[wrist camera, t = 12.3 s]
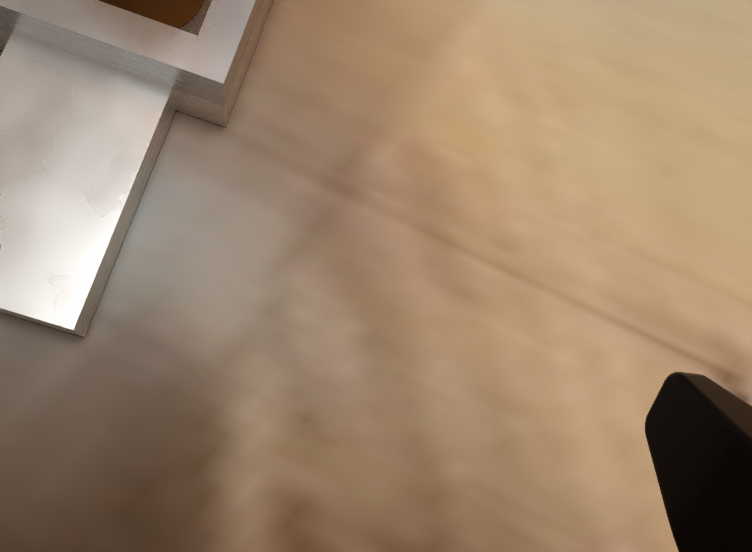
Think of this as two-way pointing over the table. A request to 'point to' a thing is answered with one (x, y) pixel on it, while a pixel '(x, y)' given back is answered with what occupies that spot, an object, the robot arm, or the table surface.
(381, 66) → the table surface
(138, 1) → the pin
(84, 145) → the grey peg socket block
